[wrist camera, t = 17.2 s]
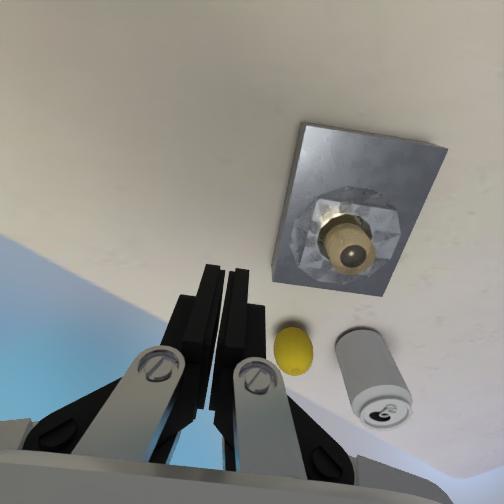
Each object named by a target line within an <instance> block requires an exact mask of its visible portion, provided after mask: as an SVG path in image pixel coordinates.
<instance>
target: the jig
mask: <svg viewBox="0 0 504 504" xmlns="http://www.w3.org/2000/svg"><path fill="white" fill-rule="evenodd" d="M447 151H448V149H447V148H444V147H441V146H438V145H435V144H432V143H428V142H423V141H417V140H411V139H404V138H398V137H392V136H386V135H380V134H374V133H368V132H362V131H356V130H350V129H344V128H338V127H332V126H325V125H319V124H313V123H307V122H301V126H300V131H299V135H298V140H297V145H296V150H295V154H294V159H293V164H292V169H291V174H290V178H289V183H288V188H287V193H286V197H285V202H284V207H283V212H282V216H281V221H280V226H279V231H278V236H277V240H276V245H275V250H274V255H273V259H272V264H271V267H272V282H278V283H285V284H293V285H300V286H307V287H314V288H322V289H329V290H336V291H343V292H351V293H358V294H365V295H372V296H380V297H382V296H383V294H384V292H385V290H386V287H387V285H388V283H389V281H390V279H391V276H392V274H393V272H394V270H395V267H396V265H397V263H398V261H399V258H400V256H401V254H402V252H403V249H404V247H405V245H406V243H407V241H408V238H409V236H410V234H411V232H412V229H413V227H414V225H415V223H416V220H417V218H418V216H419V214H420V212H421V209H422V207H423V205H424V203H425V200H426V198H427V196H428V194H429V191H430V189H431V187H432V185H433V182H434V180H435V178H436V176H437V174H438V171H439V169H440V167H441V165H442V162H443V160H444V158H445V156H446V153H447ZM343 214H350V215H356V216H360V217H361V221H362V224H361V228H362V229H363V231H364V232H365V234H366V235H367V236H368V238H369V239H370V240H371V242H372V243H373V244H374V246H375V249H376V256H375V260H374V262H373V263H372V265H371V266H370V267H369V268H368V269H366V270H365V271H363V272H361V273H359V274H355V275H345V274H342V273H340V272H338V271H336V270H335V269H334V267H333V266H332V264H331V261H330V259H329V256H328V254H327V251H326V249H325V247H324V245H323V244H321V243H320V242H319V241H318V240H317V239H318V235H319V232H320V229H321V228H322V227H323V226H324V225H325V224H326V223H327V222H328V221H329V220H330V219H332V218H335V217H337V216H340V215H343Z"/></svg>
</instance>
